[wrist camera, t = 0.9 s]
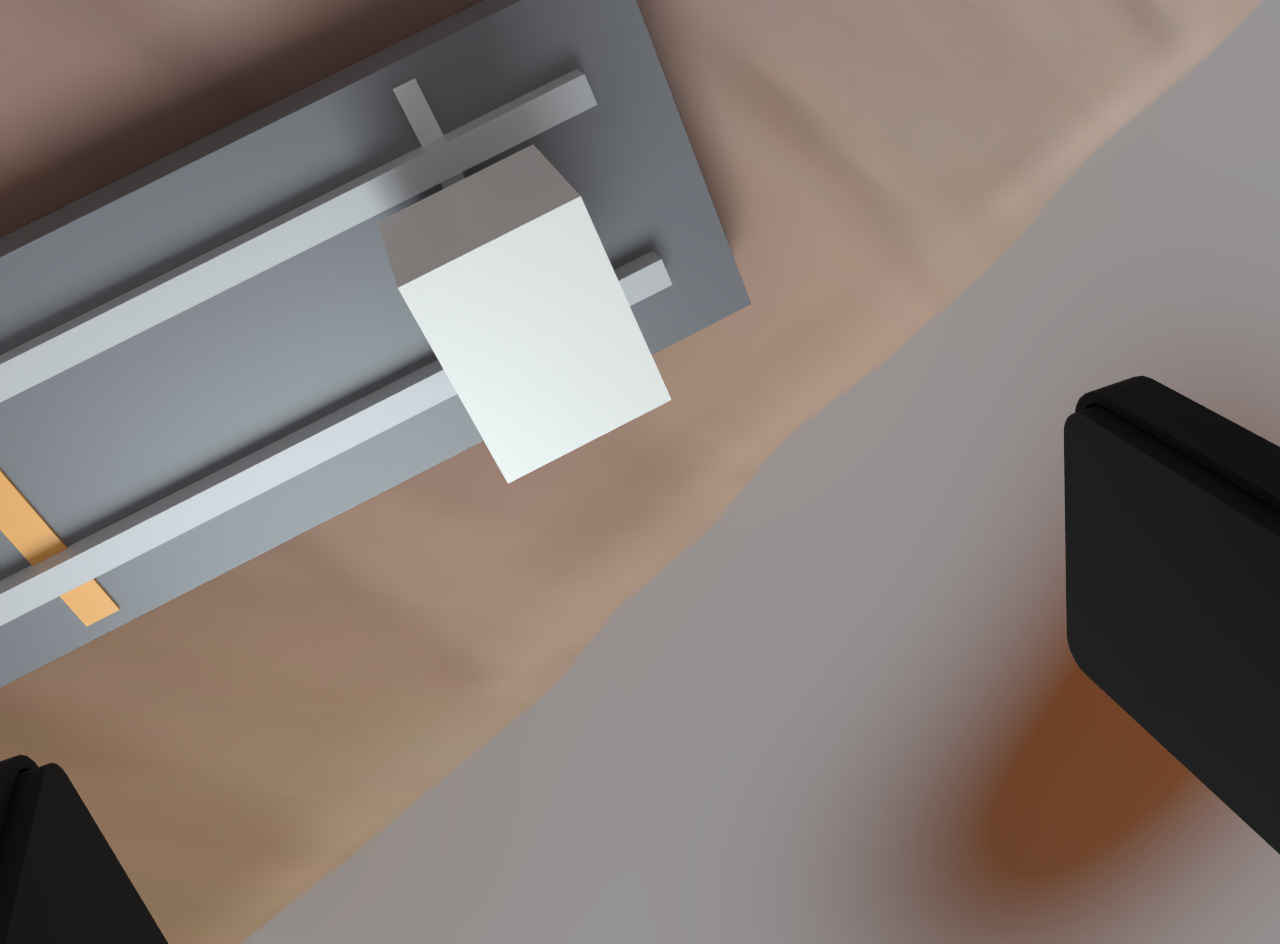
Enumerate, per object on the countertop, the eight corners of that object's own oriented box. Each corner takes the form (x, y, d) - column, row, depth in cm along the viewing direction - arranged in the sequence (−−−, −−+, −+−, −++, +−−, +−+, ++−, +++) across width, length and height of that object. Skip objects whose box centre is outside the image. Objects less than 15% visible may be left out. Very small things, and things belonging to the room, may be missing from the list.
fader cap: (515, 125, 29) (580, 196, 23) (594, 296, 31) (671, 399, 25) (370, 197, 28) (397, 288, 23) (462, 363, 31) (508, 483, 25)
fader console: (593, -55, 30) (626, -46, 27) (722, 276, 35) (761, 313, 32) (-413, 440, 29) (-487, 504, 26) (-123, 706, 34) (-159, 783, 31)
